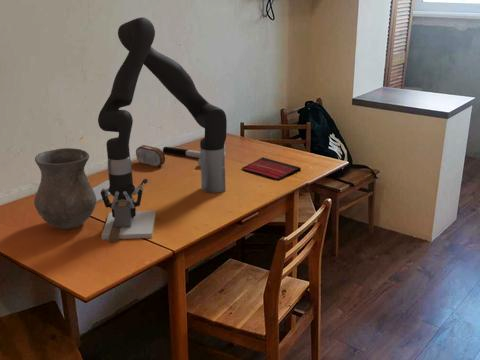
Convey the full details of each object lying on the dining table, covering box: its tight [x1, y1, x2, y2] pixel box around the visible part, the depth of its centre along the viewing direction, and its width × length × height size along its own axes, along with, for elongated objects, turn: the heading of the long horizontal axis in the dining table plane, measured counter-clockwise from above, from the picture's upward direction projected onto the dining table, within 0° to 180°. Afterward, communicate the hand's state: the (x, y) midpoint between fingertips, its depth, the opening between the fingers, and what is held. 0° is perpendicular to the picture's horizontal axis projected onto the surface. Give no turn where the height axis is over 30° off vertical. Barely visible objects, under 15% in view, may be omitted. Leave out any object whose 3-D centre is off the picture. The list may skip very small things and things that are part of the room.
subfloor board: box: [101, 210, 157, 243], centre depth 184 cm, size 16×22×2 cm
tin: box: [135, 144, 166, 168], centre depth 241 cm, size 15×3×8 cm, turn 58°
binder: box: [241, 156, 302, 181], centre depth 235 cm, size 16×2×21 cm
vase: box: [33, 147, 97, 231], centre depth 182 cm, size 20×19×25 cm
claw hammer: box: [162, 144, 227, 167], centre depth 253 cm, size 5×22×30 cm
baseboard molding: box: [92, 179, 112, 204], centre depth 212 cm, size 31×3×12 cm
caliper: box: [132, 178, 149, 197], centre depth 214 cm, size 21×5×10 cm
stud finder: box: [114, 199, 133, 227], centre depth 182 cm, size 5×8×7 cm, turn 4°
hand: (124, 217), depth 183 cm, fingers closed on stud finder, 5 cm apart
